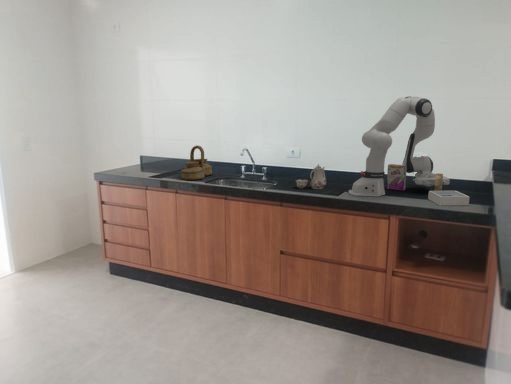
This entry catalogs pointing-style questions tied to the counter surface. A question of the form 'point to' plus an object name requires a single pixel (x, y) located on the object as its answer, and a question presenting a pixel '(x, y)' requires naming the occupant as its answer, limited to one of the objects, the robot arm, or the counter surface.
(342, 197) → the counter surface
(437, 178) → the wooden peg
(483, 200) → the counter surface
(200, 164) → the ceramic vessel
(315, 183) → the chinaware
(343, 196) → the counter surface
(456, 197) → the bore box
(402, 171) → the candy bar box
